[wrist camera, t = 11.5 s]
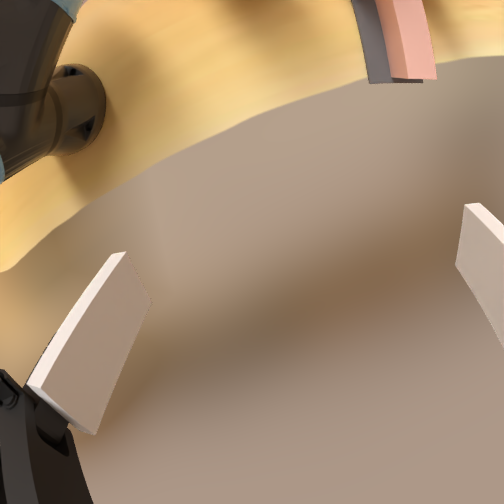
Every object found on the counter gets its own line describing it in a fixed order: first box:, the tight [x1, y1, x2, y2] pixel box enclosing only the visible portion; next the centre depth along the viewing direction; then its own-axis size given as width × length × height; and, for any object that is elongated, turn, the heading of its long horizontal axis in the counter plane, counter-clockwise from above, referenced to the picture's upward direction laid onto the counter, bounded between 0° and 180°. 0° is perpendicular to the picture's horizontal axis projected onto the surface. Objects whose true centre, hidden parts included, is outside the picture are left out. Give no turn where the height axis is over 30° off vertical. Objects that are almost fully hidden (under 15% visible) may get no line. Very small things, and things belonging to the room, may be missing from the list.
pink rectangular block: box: [375, 0, 437, 80], centre depth 24 cm, size 4×14×6 cm, turn 12°
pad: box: [351, 0, 423, 84], centre depth 27 cm, size 8×16×1 cm, turn 13°
